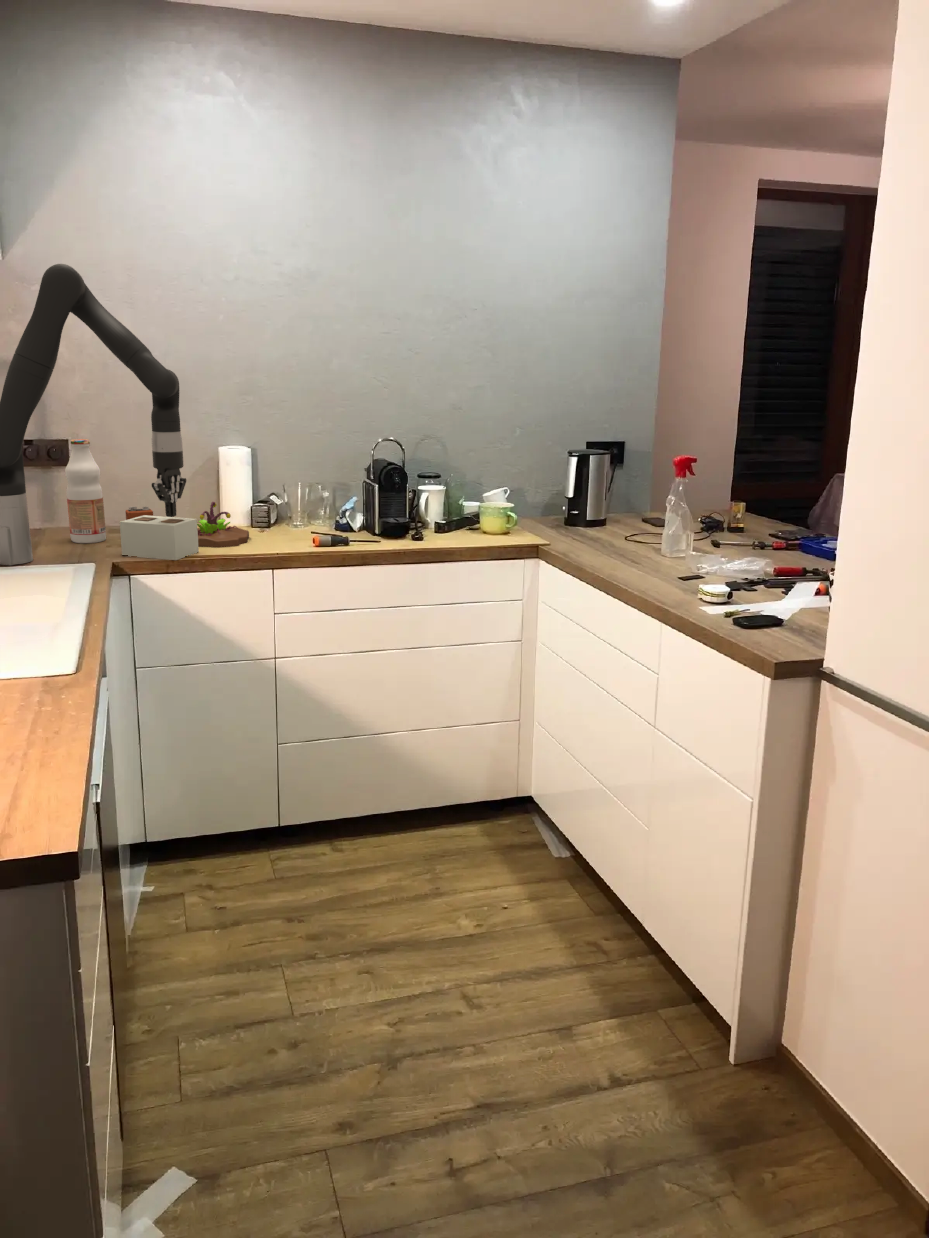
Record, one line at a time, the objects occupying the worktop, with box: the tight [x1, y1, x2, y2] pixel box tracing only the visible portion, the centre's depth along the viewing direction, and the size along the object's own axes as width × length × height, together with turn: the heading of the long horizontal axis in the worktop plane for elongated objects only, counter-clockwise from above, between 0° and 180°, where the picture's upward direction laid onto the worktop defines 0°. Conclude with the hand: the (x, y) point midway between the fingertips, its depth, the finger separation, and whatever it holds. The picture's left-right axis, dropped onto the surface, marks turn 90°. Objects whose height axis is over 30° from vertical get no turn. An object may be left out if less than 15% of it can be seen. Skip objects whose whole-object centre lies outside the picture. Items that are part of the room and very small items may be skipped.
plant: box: [197, 501, 250, 549], centre depth 279 cm, size 20×20×11 cm
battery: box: [125, 506, 154, 520], centre depth 275 cm, size 4×7×10 cm, turn 118°
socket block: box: [119, 515, 200, 561], centre depth 261 cm, size 11×16×9 cm
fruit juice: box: [64, 438, 107, 544], centre depth 274 cm, size 9×9×28 cm
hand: (171, 516), depth 258 cm, fingers closed
